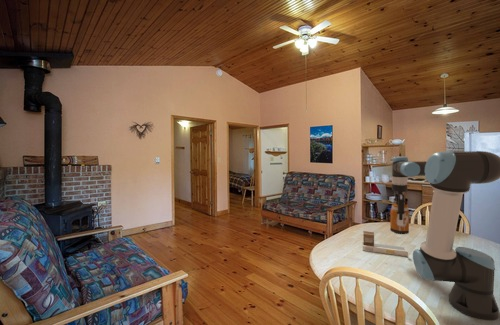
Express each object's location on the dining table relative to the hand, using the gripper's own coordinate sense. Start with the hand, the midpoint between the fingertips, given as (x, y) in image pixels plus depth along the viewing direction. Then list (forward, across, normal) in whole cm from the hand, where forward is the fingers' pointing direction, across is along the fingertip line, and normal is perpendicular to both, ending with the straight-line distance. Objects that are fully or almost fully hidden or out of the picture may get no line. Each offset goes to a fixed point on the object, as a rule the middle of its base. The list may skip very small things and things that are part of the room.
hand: (398, 222), depth 140 cm
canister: (+6, 0, 0) cm, 6 cm away
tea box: (+21, +12, +15) cm, 28 cm away
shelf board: (+22, +12, +6) cm, 26 cm away
